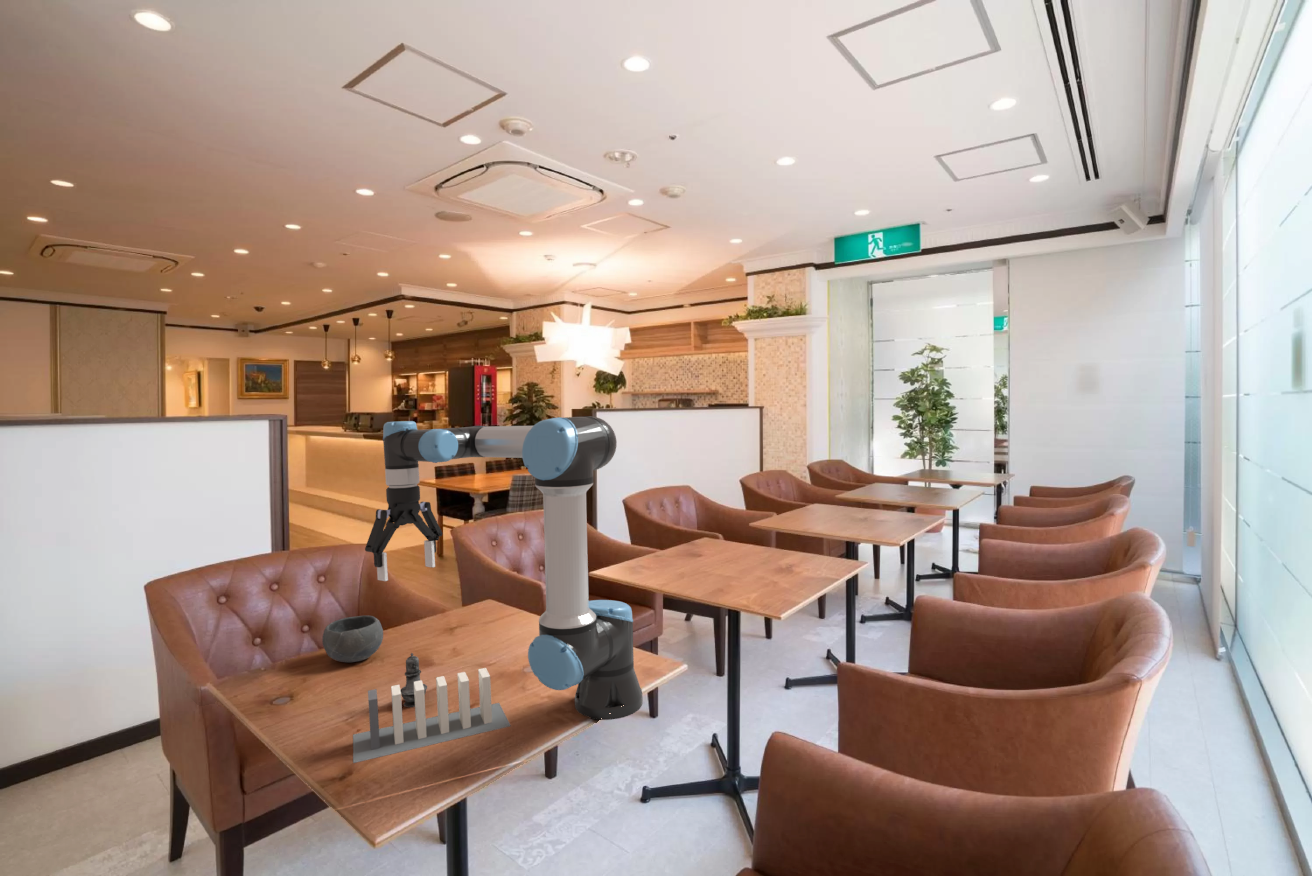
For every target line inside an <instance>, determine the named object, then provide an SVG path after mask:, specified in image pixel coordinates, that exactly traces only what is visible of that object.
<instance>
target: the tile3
mask: <svg viewBox="0 0 1312 876" xmlns="http://www.w3.org/2000/svg"><path fill="white" fill-rule="evenodd" d="M435 678H436V679H435V682H436V683H435V685H436V701H437V704H436V706H437V716H438V724H439V728H440V732H441V734H444V733H448V732H449V716H448V714H449V700H448V699H449V697H448V684H447V681H446V678H445V676H444V675H441V676H437V677H435Z"/></svg>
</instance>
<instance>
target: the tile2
mask: <svg viewBox="0 0 1312 876" xmlns="http://www.w3.org/2000/svg"><path fill="white" fill-rule="evenodd" d="M457 692H458V693H457V694H458V710H459V711H458V712H459V718H460V722H461V724H462V727H463V729H465V728H470V727H471V716H470V709H471V698H470V697H471V696H470V679H469V677H468V675H467V673H466V671H462V672H457Z"/></svg>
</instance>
